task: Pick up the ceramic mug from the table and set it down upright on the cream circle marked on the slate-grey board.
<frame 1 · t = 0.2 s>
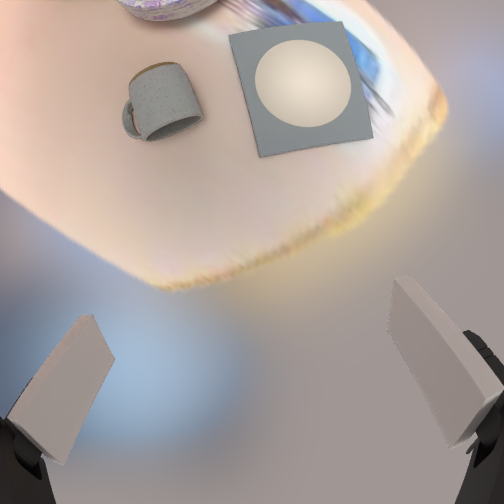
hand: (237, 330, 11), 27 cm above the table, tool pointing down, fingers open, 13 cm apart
target board: (302, 84, 30), on the table
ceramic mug: (164, 111, 32), on the table
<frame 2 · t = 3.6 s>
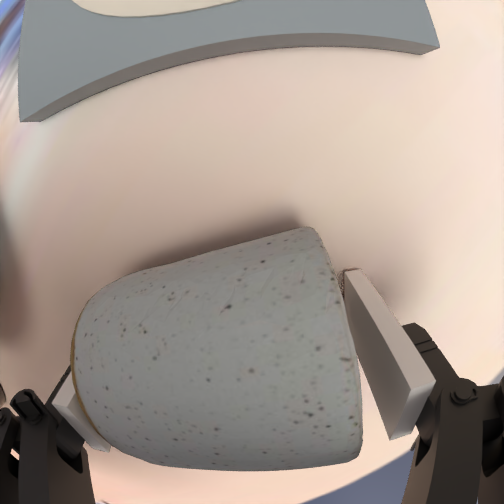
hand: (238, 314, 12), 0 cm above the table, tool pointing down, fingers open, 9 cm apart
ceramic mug: (244, 324, 13), on the table, touching gripper
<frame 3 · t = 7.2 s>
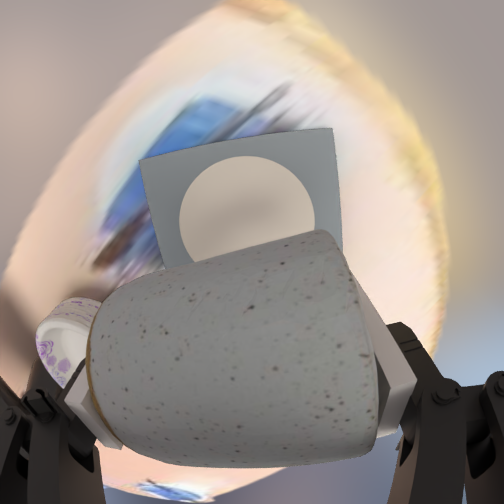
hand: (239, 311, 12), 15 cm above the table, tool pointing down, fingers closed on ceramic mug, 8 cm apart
target board: (247, 219, 26), on the table
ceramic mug: (254, 324, 13), point 14 cm above the table, touching gripper
paper bowls: (110, 334, 32), on the table
when the fingers open (3 cm above the table, at t = 10.1 s): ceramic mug stays where it is, resting on target board.
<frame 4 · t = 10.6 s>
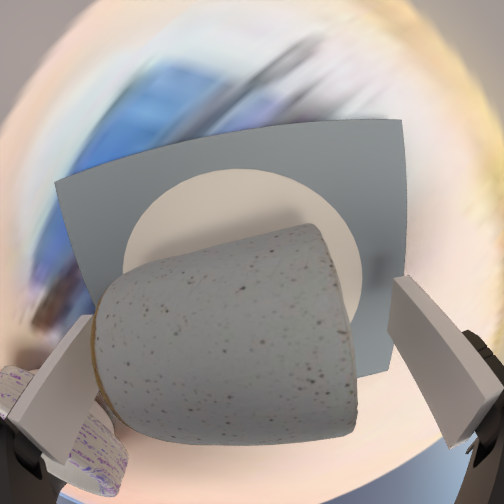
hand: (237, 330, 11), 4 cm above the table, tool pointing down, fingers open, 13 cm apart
target board: (241, 281, 15), on the table
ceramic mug: (248, 314, 14), point 1 cm above the table, touching target board
paper bowls: (71, 401, 21), on the table
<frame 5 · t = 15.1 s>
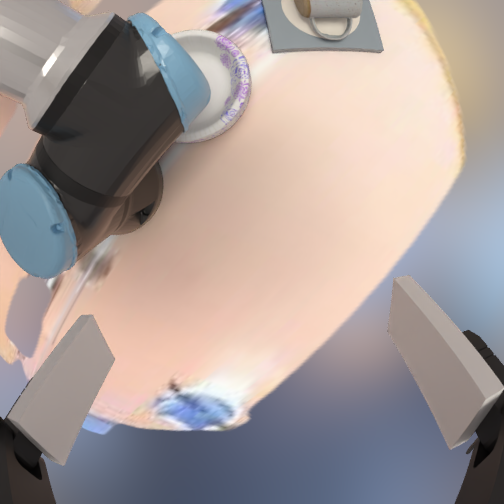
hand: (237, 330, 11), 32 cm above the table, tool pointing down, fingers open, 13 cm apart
target board: (319, 11, 29), on the table
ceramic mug: (324, 13, 28), point 1 cm above the table, touching target board
paper bowls: (198, 93, 35), on the table
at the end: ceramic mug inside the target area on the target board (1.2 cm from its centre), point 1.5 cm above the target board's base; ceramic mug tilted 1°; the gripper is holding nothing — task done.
